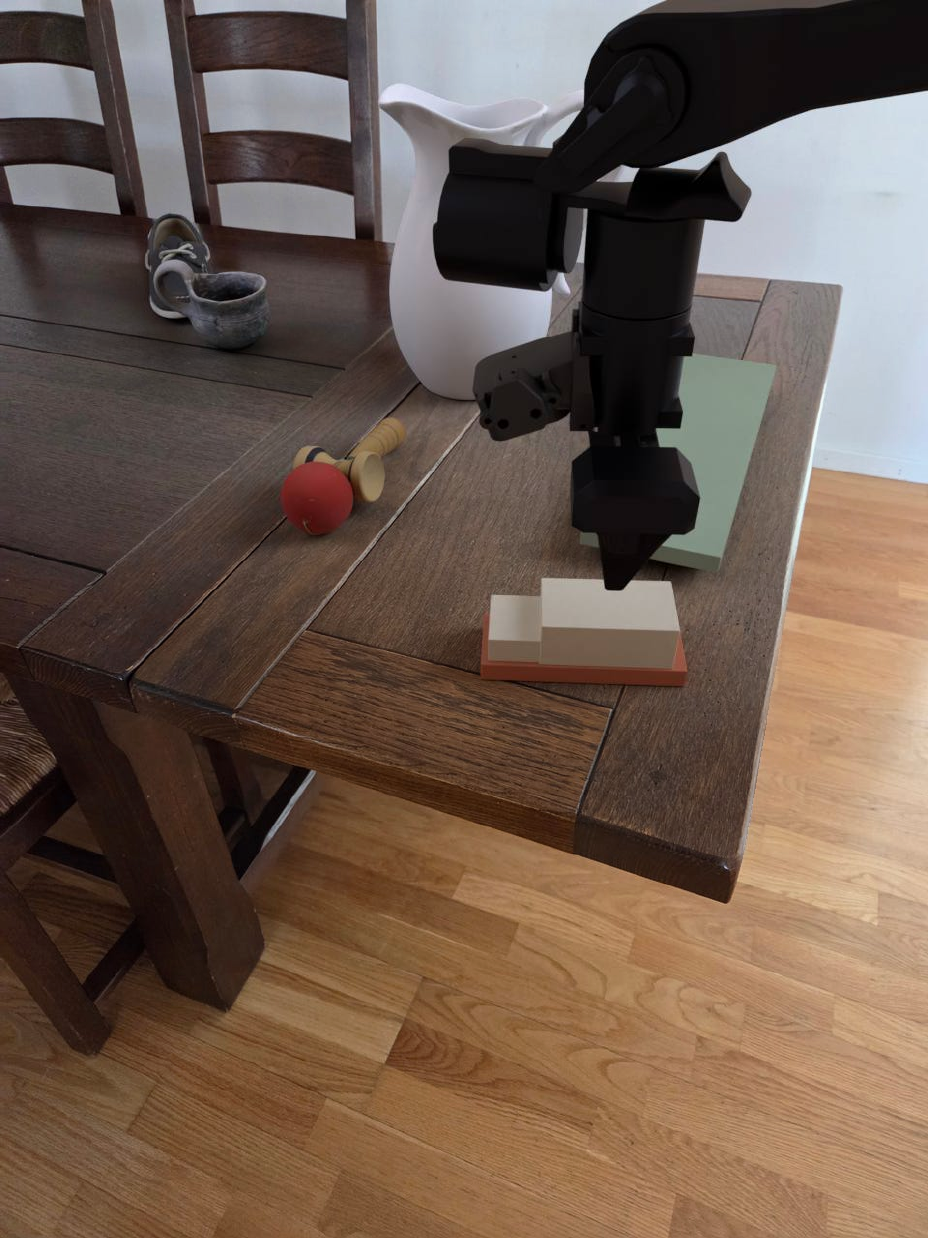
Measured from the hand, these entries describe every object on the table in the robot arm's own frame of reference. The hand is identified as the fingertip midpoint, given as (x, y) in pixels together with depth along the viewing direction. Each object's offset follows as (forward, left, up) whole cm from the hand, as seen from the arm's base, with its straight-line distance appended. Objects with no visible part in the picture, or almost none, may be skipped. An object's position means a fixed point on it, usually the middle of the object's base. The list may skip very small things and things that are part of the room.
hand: (609, 543), depth 55 cm
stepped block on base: (+1, 0, -10) cm, 10 cm away
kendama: (+21, -21, -10) cm, 31 cm away
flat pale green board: (-10, -27, -10) cm, 30 cm away
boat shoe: (+52, -70, -10) cm, 88 cm away
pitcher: (+8, -45, -10) cm, 47 cm away
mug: (+42, -53, -10) cm, 68 cm away
